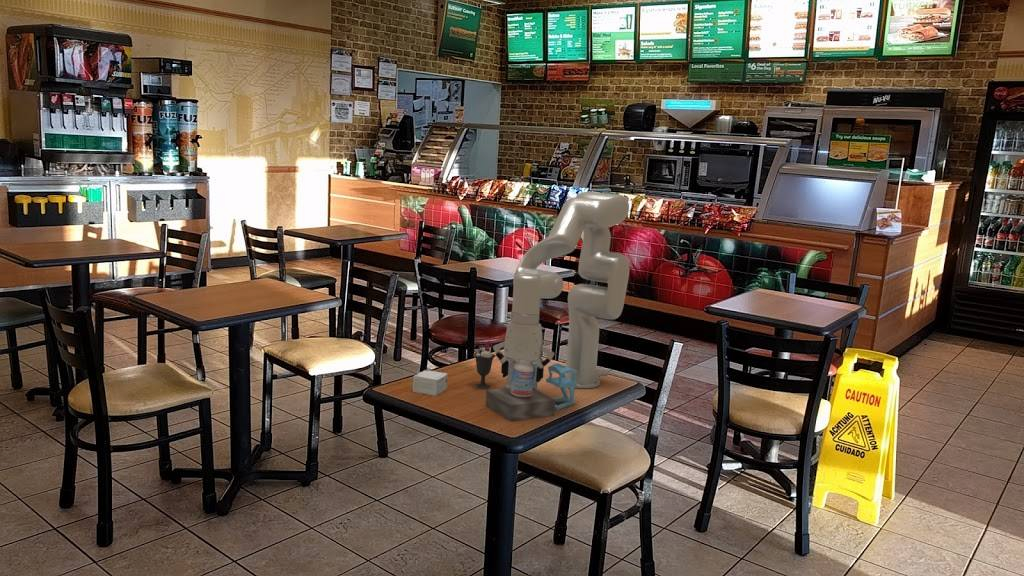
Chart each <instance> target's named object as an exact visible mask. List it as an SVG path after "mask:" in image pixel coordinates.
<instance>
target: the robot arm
mask: <svg viewBox="0 0 1024 576" xmlns="http://www.w3.org/2000/svg"><path fill="white" fill-rule="evenodd" d="M629 203H630V202H629V201H628V199H627V197H626V196H624V195H622V194H616V193H605V192H604V193H603V192H597V191H596V192H595V191H584V192H580V193H578V194H576V196H575V197H570V198H568V199H566V201H565V202H564V203H563V205H562V207H561V210H560V212H559V214H558V215H557V218H556V220H555V222H554V224H553V226H552V228H551V230H550V231H549V234H548V236H547V237H545V238H544V239H542V240H541V241H538V242H537V243H536V244H534V245H533V246H531V248H529V249H528V250H527V251H526V252H525V253H524V254H523V256H522V257H521V259H520V261H519V264H518V266H517V268H516V269H515V272H514V275H513V281H512V283H513V284H512V285H513V288H512V289H513V291H512V307H511V308H512V309H511V311H510V312H509V311H508V312H506V317H507V318H509V319H510V321H508V323H507V328H506V332H505V339H504V341H502V342H500V343H498V344H497V343H496V344H495V345H493V346H492V348H493V352H494V354H495V355H496V356H495V357H496V358H497V359H498V360H499V362H500V364H501V371H500V373H501V374H502V378H503V379H504V378H507V375H508V368H509V362H508V359H516V360H526V361H535V362H536V363H537V365H538V368H537V375H536V381H537V382H538V383H540V381H542V379H543V378H544V370H545V369H544V368H545V367H546V366H547V365H548V364H549V363H550V362H551V361H552V359H553V358H554V356H555V352H554V351H552V350H551V349H549V348H548V347H547V346H545V345H544V344H543V330H542V329H543V328H542V324H541V323H540V310H541V309H540V308H541V299H554V298H557V297H558V296H560V294H561V293H562V291H563V288H564V280H563V277H561V275H560V274H558V273H556V272H553V271H548V270H543V269H537V268H538V267H539V266H541V265H543V263H545V262H547V261H549V260H552V259H555V258H559V257H562V256H565V255H568V254H570V253H573V252H574V251H575V249H576V248H577V246H578V243H579V240H580V239H581V236H582V234H583V238H582V244H581V249H580V255H579V261H578V274H579V276H580V277H581V278H582V279H585V280H587V281H593V282H599V283H605V284H606V283H607V287H606V286H602V285H601V286H600V285H596V284H595V285H594V284H588V283H578V284H575V285H573V286H572V287H571V288H570V290H569V292H568V295H567V307H568V315H569V316H568V320H569V321H568V322H569V323H568V335H567V337H568V338H567V339H568V340H567V349H566V350H567V351H566V363H565V364H566V365H565V366H566V367H568V368H571V369H573V370H577V372H576V375H575V377H574V380H575V381H576V382H577V385H576V386H575V388H576V389H592V388H593V389H594V388H597V387H599V386H600V385H601V380H600V379H599V378H601V377H607V376H609V370H608V369H603V370H601V369H600V368H597V365H598V350H599V339H600V327H599V324H598V322H597V319H596V318H600V319H604V320H616V319H618V318H619V317H621V315H622V312H623V309H624V306H625V305H624V304H625V300H626V296H627V295H626V294H627V289H628V283H629V277H630V262H629V259H628V258H627V256H626V255H624V254H622V253H619V252H612V251H610V247H611V239H612V235H611V232H610V227H613V226H615V225H619V224H621V223H622V222H623V221H625V220H626V218H627V217H628V214H629V211H630V204H629ZM501 348H503V353H502V351H501ZM543 353H544V354H545V355H547V357H546V358H545V359H543V358H542V356H543ZM572 375H573V373H572V372H567V373H565V377H566V378H568V379H570V380H572ZM575 388H574V389H575Z"/></svg>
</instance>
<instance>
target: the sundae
mask: <svg viewBox="0 0 1024 576" xmlns="http://www.w3.org/2000/svg"><path fill="white" fill-rule="evenodd" d="M489 343H491V340H488V341H487V343H486V344H485V345H482V346H481V345H479V346H478V350H477V352H474V353H473V357H475V363H476V365H475V366H476V367H475V368H476V371H477V373H478V374H479V376H480V377H481V379H480V383H478V384H477V383H476V384H475V385H474V387H475V388H476V389H481V390H483V389H484V390H488V389H490V388H491V385H489V384H487V383H486V376H488V375H489V374H490V372H491V370H492V369H491V368H492V366H493V360H494V358H496V357H497V356H496V354H495V353H492V351H491V348H490V345H489Z"/></svg>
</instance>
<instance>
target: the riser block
mask: <svg viewBox="0 0 1024 576" xmlns="http://www.w3.org/2000/svg"><path fill="white" fill-rule="evenodd" d="M510 389H511V388H507V387H504V388H495V389H486V395H485V406H486V407H487V408H489V409H490V410H492V411H494V412H495V413H496V414H498V415H499V416H501V417H503V418H504V419H506V420H507V421H509V422H515V421H523V420H529V419H537V418H543V417H544V418H546V417H551V416H553V417H554V415H555V409H554V408H555V405H556V402H555V400H554V399H553V398H554V397H550V395H547V394H545V393H544V392H542V391H540V390H538V389H537V390H536V389H534V388H532V394H531V396H530V397H525V398H522V397H516V396H514V395H512V394H511V392H510Z"/></svg>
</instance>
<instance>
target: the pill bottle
mask: <svg viewBox="0 0 1024 576" xmlns="http://www.w3.org/2000/svg"><path fill="white" fill-rule="evenodd" d="M517 361H518V362H516V363H515V364H514V366H513V374H512V381H511V389H510V392H511V394H512V395H514V396H516V397H522V398H525V397H530V396H531V394H532V388H533V380H534V373H535V366H534V365H533V364H532V363H533V361H526V360H517Z"/></svg>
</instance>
